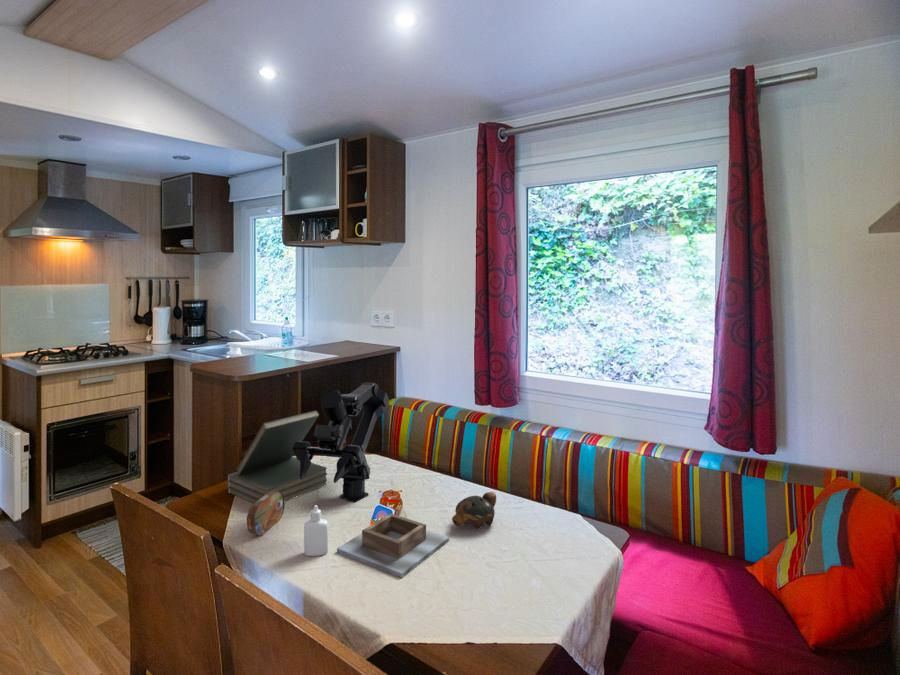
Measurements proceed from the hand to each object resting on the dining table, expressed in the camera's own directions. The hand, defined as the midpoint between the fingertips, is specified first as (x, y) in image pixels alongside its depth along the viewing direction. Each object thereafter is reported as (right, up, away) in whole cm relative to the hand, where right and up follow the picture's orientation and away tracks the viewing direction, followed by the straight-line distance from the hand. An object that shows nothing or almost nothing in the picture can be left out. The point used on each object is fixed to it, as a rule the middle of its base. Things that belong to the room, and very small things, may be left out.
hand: (317, 480), depth 133 cm
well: (+20, -16, -3) cm, 26 cm away
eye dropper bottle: (+1, -16, -6) cm, 17 cm away
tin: (-15, -15, +6) cm, 22 cm away
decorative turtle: (+41, -15, +10) cm, 45 cm away
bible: (-20, -12, +32) cm, 40 cm away
